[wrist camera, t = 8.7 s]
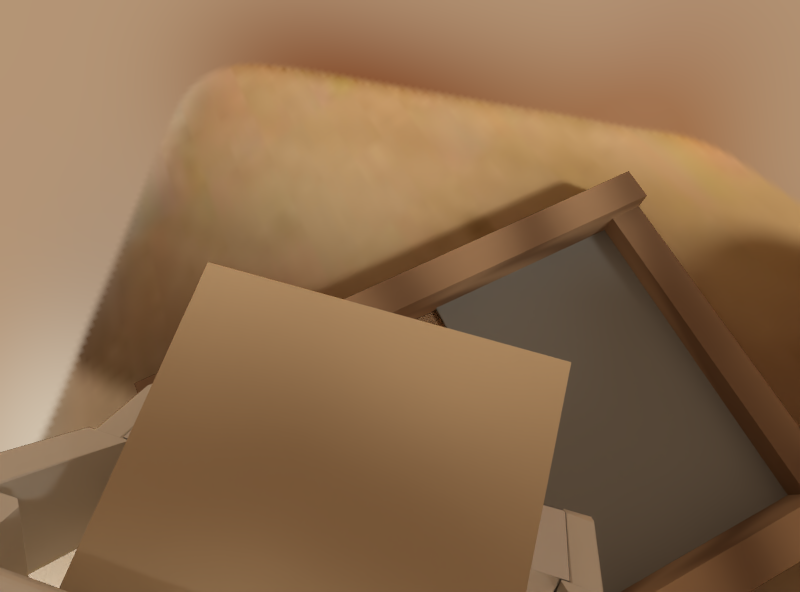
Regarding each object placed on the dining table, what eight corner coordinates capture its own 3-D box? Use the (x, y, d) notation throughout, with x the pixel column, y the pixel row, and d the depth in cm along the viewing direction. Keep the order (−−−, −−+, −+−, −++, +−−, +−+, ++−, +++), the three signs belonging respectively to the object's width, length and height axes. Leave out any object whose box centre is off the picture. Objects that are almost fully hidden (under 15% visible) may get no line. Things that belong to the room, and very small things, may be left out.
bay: (611, 198, 29) (636, 158, 26) (835, 512, 24) (903, 512, 21) (168, 399, 26) (134, 383, 23) (311, 823, 20) (293, 882, 17)
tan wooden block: (303, 378, 16) (208, 261, 9) (493, 435, 15) (571, 362, 8) (228, 586, 14) (22, 671, 7) (440, 661, 13) (476, 847, 6)
